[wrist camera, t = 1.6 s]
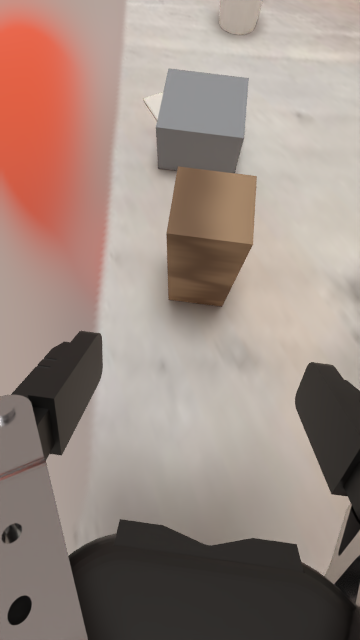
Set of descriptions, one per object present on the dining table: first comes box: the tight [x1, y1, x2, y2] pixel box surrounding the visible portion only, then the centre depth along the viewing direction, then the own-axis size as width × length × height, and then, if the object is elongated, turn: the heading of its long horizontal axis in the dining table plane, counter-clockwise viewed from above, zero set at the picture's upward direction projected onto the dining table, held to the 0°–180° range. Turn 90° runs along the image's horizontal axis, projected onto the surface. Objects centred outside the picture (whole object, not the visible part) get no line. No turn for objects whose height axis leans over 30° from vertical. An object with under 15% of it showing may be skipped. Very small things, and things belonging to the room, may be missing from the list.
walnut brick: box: [167, 166, 257, 307], centre depth 23 cm, size 5×5×11 cm
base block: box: [156, 69, 249, 173], centre depth 31 cm, size 9×9×5 cm
